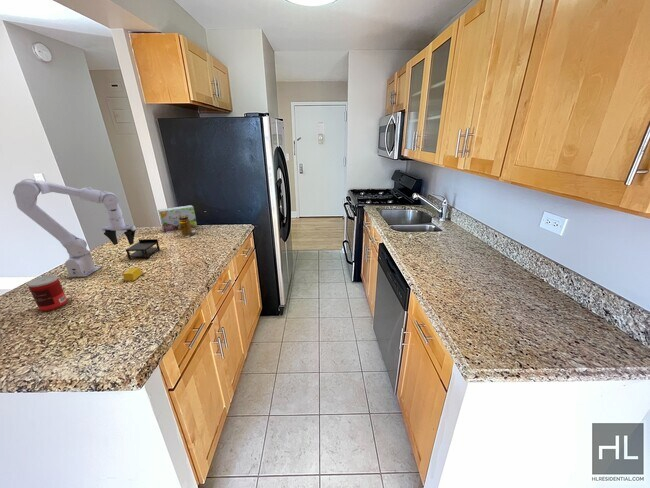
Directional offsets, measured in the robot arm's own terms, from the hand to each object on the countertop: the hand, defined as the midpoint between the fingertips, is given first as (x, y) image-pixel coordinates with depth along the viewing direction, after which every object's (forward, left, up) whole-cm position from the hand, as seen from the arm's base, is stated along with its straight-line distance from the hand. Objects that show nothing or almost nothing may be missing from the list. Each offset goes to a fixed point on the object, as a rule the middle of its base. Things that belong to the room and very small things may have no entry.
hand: (123, 244), depth 129 cm
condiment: (+42, -12, -10) cm, 45 cm away
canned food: (-38, +3, -10) cm, 40 cm away
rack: (+9, -3, -10) cm, 13 cm away
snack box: (+55, -1, -10) cm, 56 cm away
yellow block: (-17, -13, -10) cm, 23 cm away
